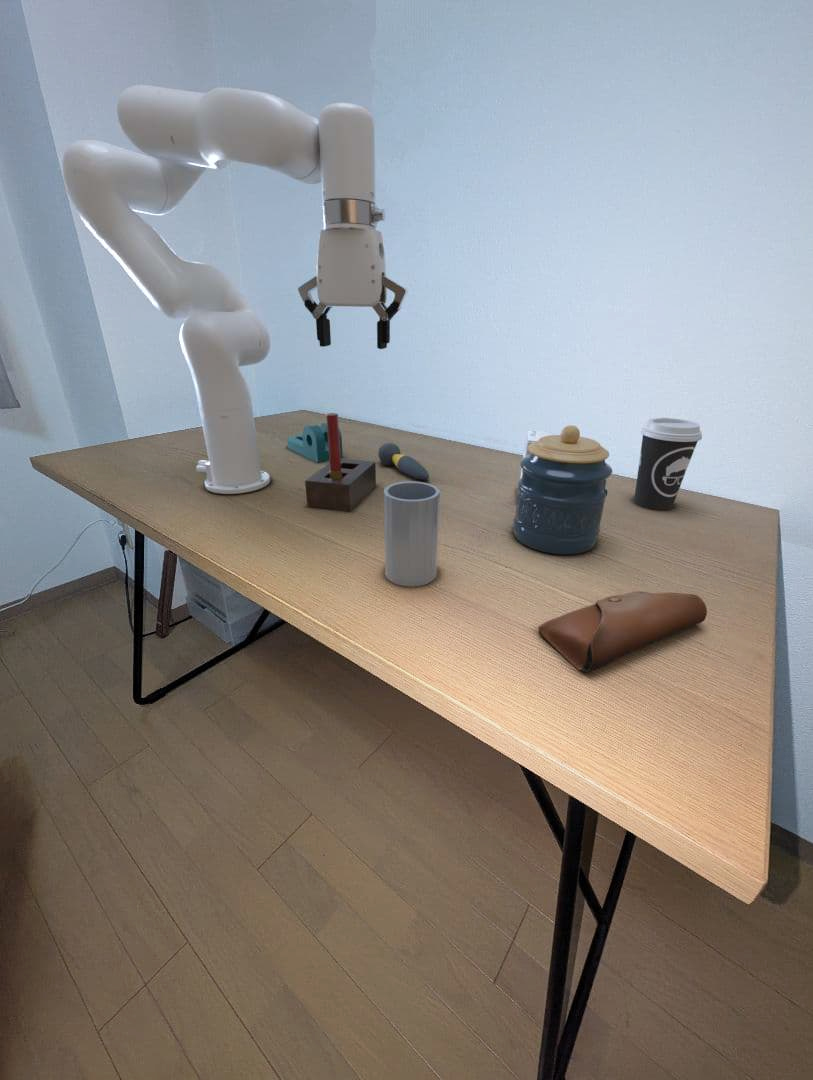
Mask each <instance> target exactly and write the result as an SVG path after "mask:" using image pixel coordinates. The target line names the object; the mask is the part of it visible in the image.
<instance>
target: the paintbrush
mask: <svg viewBox="0 0 813 1080" xmlns="http://www.w3.org/2000/svg"><path fill="white" fill-rule="evenodd" d="M377 453H378V459H379V461H380V462H381V463H382V464H383V465H385V466H394V465H395V467H396V468H397V470H398V471H400V472H401V473H402V474H405V475H406V476H409V477H411V478H413V479H417V480H421V481H427V480H429V479H430V474H429V472H428V470H427V469H426V468H425V466H423V465H422V464H421V463H420V462H419V461H418V460H416V459H415V458H413V457H411V456H409V455H406V454H402V453H401V450H400V447H399V446H398V445H397V444H395V443H391V442H389V443H384V444H382V445H381V446H379V448H378V452H377Z"/></svg>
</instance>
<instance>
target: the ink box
mask: <svg viewBox="0 0 813 1080" xmlns="http://www.w3.org/2000/svg"><path fill="white" fill-rule="evenodd" d="M550 435H554V434H553V432H547V431H541V430H527V431H526V437H525V443H524V449H523V456H522V459H523V458H524V457H526V456H528V455H529V454H530V452H529V450H528V446H529V445H530V444H531V443H533V442H536V441H538V440H539V439H540V438H542V437H544V436H550ZM522 475H523V469H522V468H521V469H520V476H519V480H520V479H521V478H522Z"/></svg>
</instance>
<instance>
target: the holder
mask: <svg viewBox="0 0 813 1080" xmlns="http://www.w3.org/2000/svg"><path fill="white" fill-rule="evenodd" d="M341 470H342V479H333V478H330V462H329V463H327V464H326V465H325V466H323V467H321V468H320V469H319V470H317V471H316V472H314V474H312V475H311V476H309V477H308V478H307V479H305V480H304V486H305V496H306V506H307V507H308V508H309V507H310V508H315V509H316V508H317V509H324V510H325V509H326V510H333V511H334V510H335V511H341V512H351V511H353V509H354V508H356V507H357V506H358V505H359V503H360V502H362V501H363V499H365V498H366V496H367V495H368V494H369V493H370V492H371V491H372V490H373V489H374V488H375V487H376V486H377V471H376V470H377V467H376V461H374V460H362V459H361V460H360V459H350V458H341Z"/></svg>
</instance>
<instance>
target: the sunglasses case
mask: <svg viewBox="0 0 813 1080" xmlns="http://www.w3.org/2000/svg"><path fill="white" fill-rule="evenodd" d="M707 615H708V609H707V605H706V604H705V601H704V600H703V599H702V598H701V597H700V596H699V595H697V594H693V593H685V592H684V593H683V592H647V591H638V590H637V591H632V592H627V593H623V594H617V595H615V594H614V595H611V596H607V597H604V598H600V599H598V600H597V601H596V602H595V603H594V604H590V605H588V606H585V607H581V608H578V609H576V610H573V611H569V612H567V613H565V614H562V615H559V616H556V617H555V618H551V619H550V620H547V621H545V622H543V623H541V624H540V625H538V627H537V628H538V633H539V634H540V635H541V636H542V637H543V638H544V639H545V641H547V643H548V644H549V645H550V646H551V647H552V648H553V649H554V650H555V651H556V652H557V653H558V654H559V655H561V656H562V657H563V658H564V659H565V660H566V661H567V662H568V663H569V664H570V665H572V666H573V667H574V668H575V669H576V670H577V671H579V672H583V673H585V672H586V673H588V672H590V671H595V670H598V669H600V668H602V667H603V666H606V665H608V664H610V663H612V662H614V661H616V660H618V659H620V658H622V657H624V656H626V655H629V654H631V653H633V652H635V651H636V650H639V649H640V648H644V647H646V646H648V645H651V644H653V643H655V642H657V641H660V640H662V639H664V638H666V637H669V636H672V635H674V634H677V633H679V632H681V631H683V630H686V629H689V628H691V627H694V626H696V625H699V624H702V623H703V622H704V621H705V620H706V618H707Z"/></svg>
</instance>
